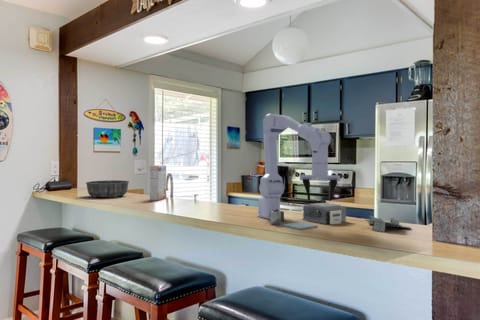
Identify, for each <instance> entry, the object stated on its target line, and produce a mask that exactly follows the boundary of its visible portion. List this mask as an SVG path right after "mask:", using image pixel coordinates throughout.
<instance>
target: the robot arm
mask: <svg viewBox="0 0 480 320" xmlns="http://www.w3.org/2000/svg"><path fill="white" fill-rule="evenodd" d="M262 124H263V125H262V128H263V130H262V131H263V133H262V134H263V153H264V154H263V155H264V174H263V176H262V177H261V178H260V180H259V181H260V184H259V188H258V190H259V193H260V194H261V197H259V199H258V203H257V204H258V205H257V206H258V210H257V211H258V212H257V214H256V216H257V217H258V218H264V219H269V220H270V211H273V209H279V211H281V197H282V195H283V194H284V192H285V185H284V182H283V177H282V176H281V175H280V174H279V171H278V152H277V151H278V149H277V137H278V136H279V135H281V134H282V133H284V131H286V130H288V128H289V129H290V130H293V131H295V132H297V135H298V136H299V137H300V138H301V139H303V140H306V141H307V142H308V143H309V145H310V150H311V174H299V181H302V184H303V185H304V186H303V187H304V189H305V193H306V196H307V201H311V192H310V190H311V181H324V182H325V181H327V182H328V201H329V202H332V199H333V195H334V192H335V189H336V187H337V185H338V182H341V175H334V174H333V175H329V174H328V172H329V171H328V169H329V168H328V167H329V166H328V165H329V163H328V161H329V145H330V144H331V143H332V135H331V134H330V133H329V132H328V131H327V130H323V131H322V130H321V129H320V128H319V127H314V126H312V123H310V122H305V123H300V122H299V121H297V120H295V119H294V118H292V117H291V116H288V115H286V114H273V113H267V114H266V115H265V117H264V118H263V120H262Z"/></svg>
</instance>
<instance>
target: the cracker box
mask: <svg viewBox="0 0 480 320" xmlns="http://www.w3.org/2000/svg"><path fill="white" fill-rule="evenodd" d="M165 187H166V188H167V165H165V164H164V165H163V164H159V165H158V164H157V165H149V201H150V202H151V201H156V202H159V201H161V200H165V199H167V189H166V190H165Z"/></svg>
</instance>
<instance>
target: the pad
mask: <svg viewBox="0 0 480 320" xmlns="http://www.w3.org/2000/svg"><path fill="white" fill-rule="evenodd" d="M282 227H285V228H291V229H294V228H295V229H294V230H298V229H299V231H300V229H302V230H307V229H308V228H309V229H314V228H315V229H316V228H318V225H316V224H311V223H306V222H301V221H299V222H290V223H283V224H282Z"/></svg>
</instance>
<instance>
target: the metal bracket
mask: <svg viewBox="0 0 480 320" xmlns="http://www.w3.org/2000/svg"><path fill="white" fill-rule="evenodd" d="M364 221H366V222H367V224H368V225H373V226H374V227H373V231H374V232H379V233H385V230H386V227H392V228H399V229H407V230H412V227H409V226H404V225H403V226H402V225H401V224H400V221H399V220H398V219H395V218H394V217H390V221H384V220H383V219H382V218H380V217H378V218H377V217H376V216H375V217H374V216H373V215H369V219H366V218H365V219H364Z"/></svg>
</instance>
